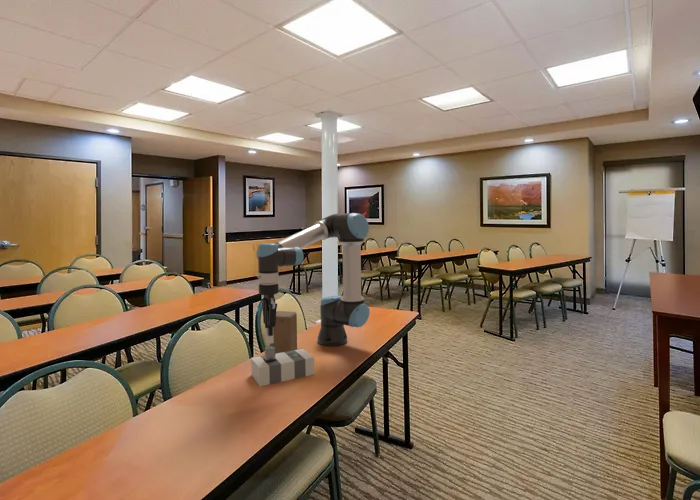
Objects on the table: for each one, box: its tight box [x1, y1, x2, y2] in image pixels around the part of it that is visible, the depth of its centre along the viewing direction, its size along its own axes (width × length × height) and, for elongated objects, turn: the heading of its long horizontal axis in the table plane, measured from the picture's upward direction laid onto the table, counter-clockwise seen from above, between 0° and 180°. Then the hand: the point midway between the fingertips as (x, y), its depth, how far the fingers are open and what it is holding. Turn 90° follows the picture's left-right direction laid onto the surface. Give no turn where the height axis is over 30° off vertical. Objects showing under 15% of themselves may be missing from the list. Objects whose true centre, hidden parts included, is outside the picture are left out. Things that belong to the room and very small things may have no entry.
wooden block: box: [269, 310, 298, 354], centre depth 173 cm, size 10×10×20 cm
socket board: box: [250, 348, 315, 387], centre depth 153 cm, size 22×12×7 cm, turn 119°
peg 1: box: [264, 345, 276, 363], centre depth 151 cm, size 4×4×7 cm
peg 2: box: [289, 353, 299, 358], centre depth 156 cm, size 4×4×7 cm
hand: (269, 343), depth 150 cm, fingers closed
